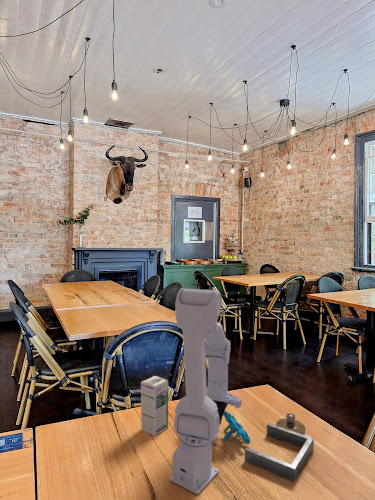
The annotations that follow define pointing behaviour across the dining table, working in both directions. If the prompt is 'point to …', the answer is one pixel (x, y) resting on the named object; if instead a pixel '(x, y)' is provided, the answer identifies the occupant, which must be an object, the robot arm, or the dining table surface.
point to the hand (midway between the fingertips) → (217, 424)
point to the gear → (234, 428)
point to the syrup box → (154, 405)
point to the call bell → (291, 424)
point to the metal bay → (277, 465)
